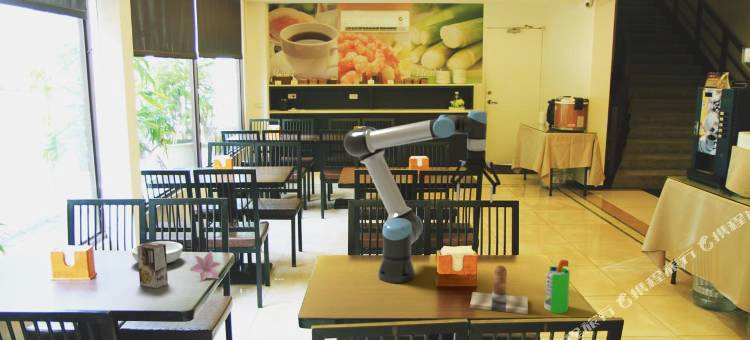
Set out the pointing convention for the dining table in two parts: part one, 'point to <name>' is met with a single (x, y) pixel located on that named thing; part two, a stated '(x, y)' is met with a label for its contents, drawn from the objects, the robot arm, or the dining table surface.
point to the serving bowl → (171, 250)
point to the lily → (206, 266)
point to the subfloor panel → (511, 304)
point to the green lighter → (557, 288)
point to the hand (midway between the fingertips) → (474, 200)
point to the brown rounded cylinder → (499, 285)
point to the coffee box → (152, 264)
